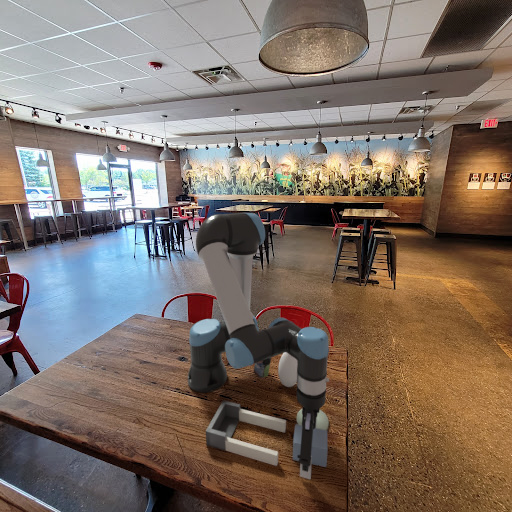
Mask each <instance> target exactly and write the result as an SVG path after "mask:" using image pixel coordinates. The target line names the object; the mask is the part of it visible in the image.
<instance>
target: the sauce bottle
mask: <svg viewBox="0 0 512 512" xmlns="http://www.w3.org/2000/svg"><path fill="white" fill-rule="evenodd" d="M277 375H278V379H279V381H280V382H281V384H282V385H283V386H285V387H287V388H292V387H294V386H295V385H297V360H296V359H295V358H294V357H292V356H291V355H290V354H288V353H287V352H284V353H282V354H281V356H280V358H279V362H278V368H277Z"/></svg>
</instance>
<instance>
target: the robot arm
mask: <svg viewBox="0 0 512 512" xmlns="http://www.w3.org/2000/svg"><path fill="white" fill-rule="evenodd" d="M265 239H266V229H265V225H264V223H263V221H262V218H260V216H259V215H258V214H257V213H254V212H237V213H235V212H234V213H223V214H221V213H219V214H213V215H210V216H209V217H207V218H206V219H205V220H203V222H202V223H201V224H200V226H199V228H198V230H197V233H196V238H195V249H196V252H197V255H198V258H199V260H201V261H203V262H204V265H205V269H206V271H207V274H208V277H209V280H210V283H211V286H212V288H213V292H214V294H215V297H216V300H217V303H218V306H219V309H220V311H221V315H222V317H223V320H221V321H220V320H218V319H216V318H206V319H202V320H199V321H197V322H195V323H194V324H193V325H192V326H191V328H190V329H189V333H188V334H189V339H188V343H189V351H190V352H189V353H190V362H191V363H190V365H189V366H190V367H189V369H188V373H187V384H188V387H189V388H190V389H191V390H193V391H194V392H197V393H211V392H214V391H217V390H218V389H220V388H222V387H223V386H224V385H225V384H226V383H227V379H228V372H227V368H226V366H225V364H224V361H223V359H222V354H224V353H225V357H226V359H227V361H228V364H229V365H230V366H231V367H232V368H233V369H234V370H235V369H238V370H239V369H242V368H246V367H248V366H253V365H255V363H257V362H260V361H262V360H265V359H268V358H270V357H271V358H273V357H276V356H279V355H283V353H284V352H287V353H288V354H290V355H291V356H292V357H294V358H295V359H296V360H297V382H296V397H295V398H296V400H297V402H298V404H300V406H302V408H301V409H302V415H303V416H302V437H301V450H300V455H298V456H297V458H299V461H298V462H299V464H300V465H299V477H301V478H304V479H308V480H311V477H312V464H311V463H312V456H311V451H312V438H313V429H315V428H316V424H317V414H318V413H319V409H320V408H322V407H323V406H325V403H326V400H327V399H326V398H327V397H326V395H327V394H326V393H327V383H329V382H330V378H329V377H327V375H328V374H327V373H328V359H329V358H328V357H329V351H330V347H329V336H328V334H327V332H326V331H324V330H323V329H321V328H317V327H315V326H306V327H304V328H301V327H300V326H298V325H297V324H295V323H294V321H291V320H289V319H287V318H285V317H276V318H275V319H274V320H273V321H271V322H270V323H269V326H268V327H266V328H264V329H259V328H260V327H259V326H258V321H257V318H256V316H255V315H254V314H253V312H252V311H251V298H252V297H251V295H252V279H253V261H254V256H255V255H256V254H257V253H258V248H259V246H261V245H262V244H263V243H264V241H265Z"/></svg>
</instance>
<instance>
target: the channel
mask: <svg viewBox="0 0 512 512" xmlns="http://www.w3.org/2000/svg"><path fill="white" fill-rule="evenodd" d="M239 422H242V423H247V424H251V425H255V426H259V427H262V428H266V429H270V430H273V431H277V432H282V433H284V434H285V433H286V430H287V420H286V419H283V418H280V417H275V416H270V415H267V414H262V413H260V412H259V413H258V412H255V411H251V410H247V409H243V408H240V410H239ZM225 448H226V452H230V453H233V454H236V455H238V456H239V455H240V456H243V457H246V458H248V459H253V460H255V461H259V462H261V463H266V464H269V465H272V466H276V467H278V464H279V451H276V450H273V449H270V448H267V447H262V446H260V445H256V444H253V443H249V442H245V441H241V440H239V439H236V438H229V437H227V438H226V440H225Z"/></svg>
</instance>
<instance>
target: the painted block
mask: <svg viewBox="0 0 512 512" xmlns="http://www.w3.org/2000/svg"><path fill="white" fill-rule="evenodd" d="M301 437H302V425H298V424H297V423H296V424H295V425H294V432H293V439H292V440H293V442H292V461H297V462H299V458H297V456H298V455H300V450H301ZM328 446H329V445H328V429H327V430H323V429H318V428H315V429H313V438H312V451H311V456H312V463H311V465H313V466H318V465H319V467H324V468H327V467H328V466H327V465H328V463H327V461H328V452H329V451H328Z"/></svg>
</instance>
